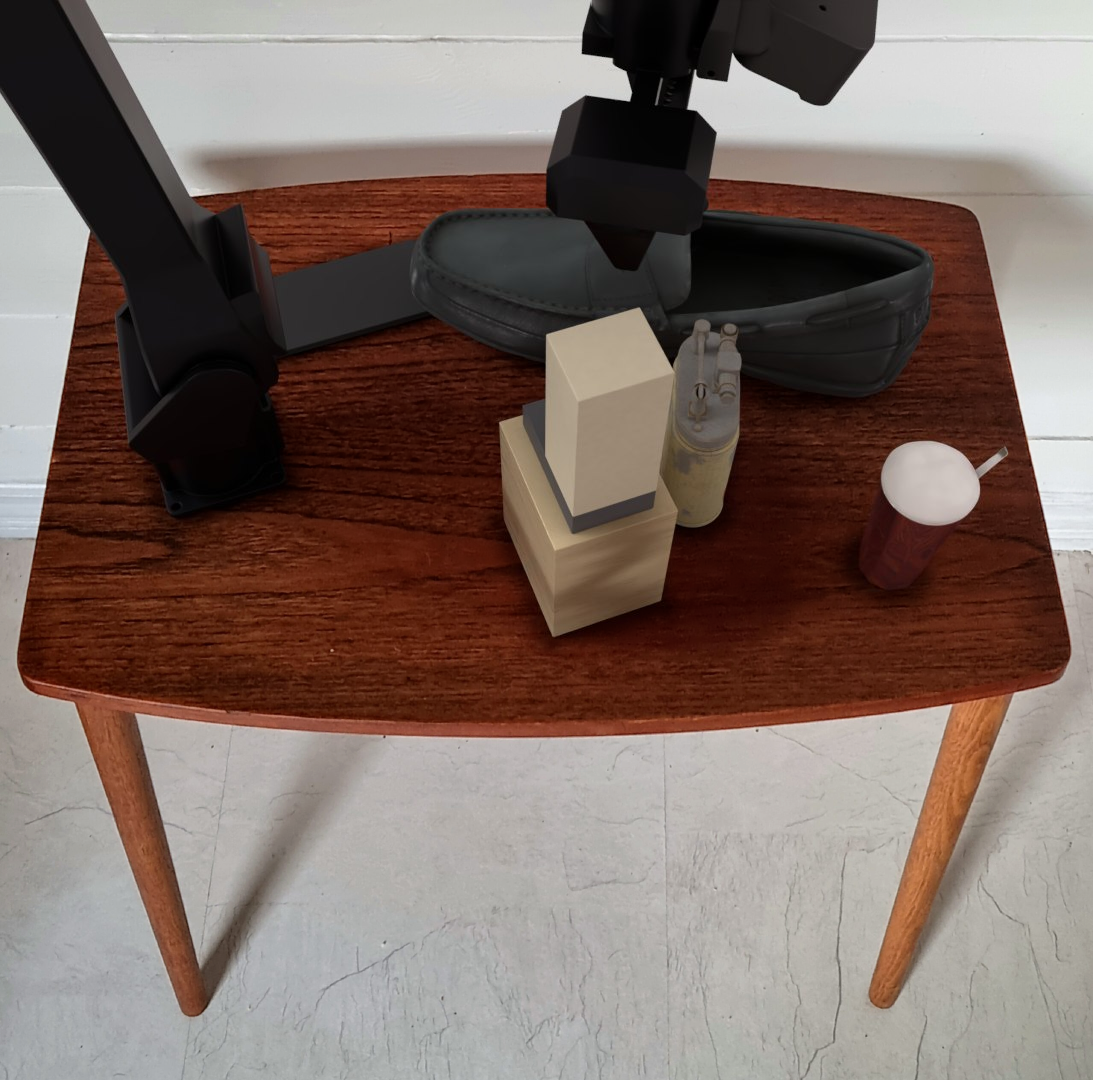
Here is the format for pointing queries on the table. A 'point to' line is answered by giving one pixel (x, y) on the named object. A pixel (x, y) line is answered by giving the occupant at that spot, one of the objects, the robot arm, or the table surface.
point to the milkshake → (917, 509)
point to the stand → (580, 544)
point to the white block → (602, 418)
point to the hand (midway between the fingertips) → (641, 197)
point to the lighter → (702, 423)
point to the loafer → (689, 290)
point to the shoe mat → (347, 297)
